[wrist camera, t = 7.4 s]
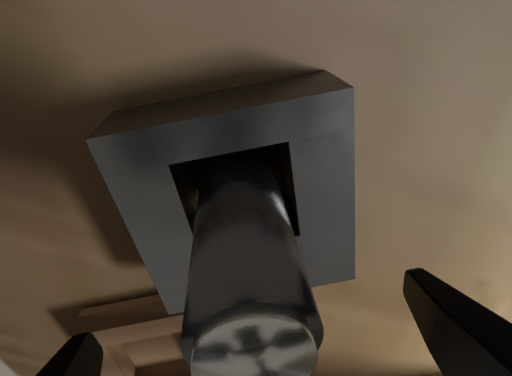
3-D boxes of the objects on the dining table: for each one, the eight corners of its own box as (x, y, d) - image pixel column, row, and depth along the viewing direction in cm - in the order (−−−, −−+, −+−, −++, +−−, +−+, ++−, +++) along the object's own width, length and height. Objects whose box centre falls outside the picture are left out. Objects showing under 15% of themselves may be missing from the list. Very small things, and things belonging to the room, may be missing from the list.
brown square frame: (226, 355, 25) (227, 382, 23) (127, 374, 25) (119, 402, 23) (200, 285, 21) (199, 311, 19) (81, 309, 21) (68, 336, 19)
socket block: (334, 236, 20) (355, 278, 16) (176, 267, 20) (168, 314, 17) (326, 70, 14) (354, 87, 11) (113, 111, 14) (84, 139, 11)
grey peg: (274, 189, 17) (333, 391, 8) (211, 201, 17) (199, 417, 8) (265, 128, 16) (326, 302, 6) (194, 142, 16) (154, 334, 6)
